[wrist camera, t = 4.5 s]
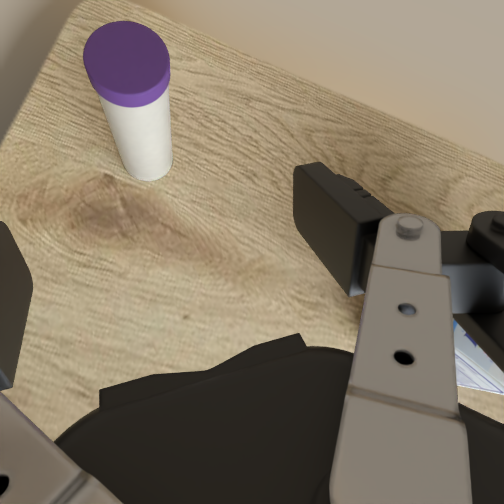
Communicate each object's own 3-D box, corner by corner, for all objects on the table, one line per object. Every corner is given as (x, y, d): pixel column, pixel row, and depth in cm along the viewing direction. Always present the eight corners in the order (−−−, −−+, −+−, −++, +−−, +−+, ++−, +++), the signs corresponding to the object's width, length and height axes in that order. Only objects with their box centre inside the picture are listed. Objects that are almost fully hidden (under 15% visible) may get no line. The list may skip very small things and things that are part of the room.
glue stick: (126, 187, 25) (91, 100, 15) (115, 138, 26) (74, 24, 16) (179, 177, 26) (177, 88, 16) (167, 130, 26) (159, 16, 17)
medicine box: (408, 378, 26) (516, 402, 18) (356, 335, 26) (440, 339, 18) (466, 286, 28) (588, 268, 20) (418, 245, 28) (519, 211, 20)
